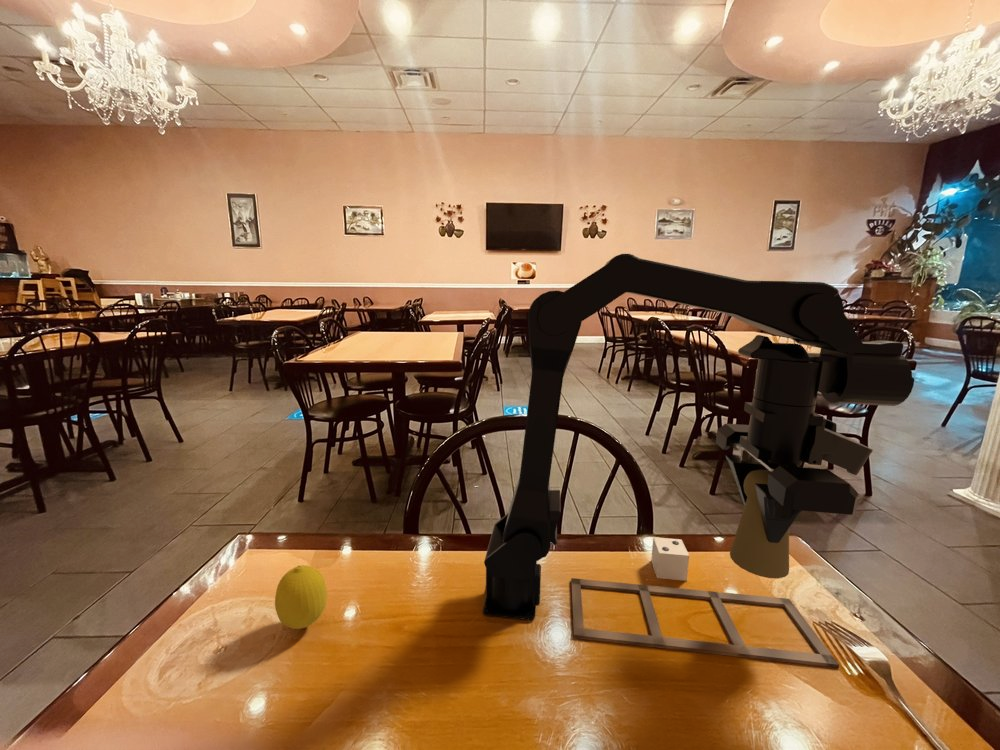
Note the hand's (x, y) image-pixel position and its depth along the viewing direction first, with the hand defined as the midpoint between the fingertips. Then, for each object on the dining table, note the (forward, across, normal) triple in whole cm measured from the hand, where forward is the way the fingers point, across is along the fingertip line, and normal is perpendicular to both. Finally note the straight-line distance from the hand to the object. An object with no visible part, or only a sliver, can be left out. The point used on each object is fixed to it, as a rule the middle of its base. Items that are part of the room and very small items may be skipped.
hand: (763, 530), depth 49 cm
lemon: (+14, -8, +53) cm, 55 cm away
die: (+13, +10, +7) cm, 17 cm away
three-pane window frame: (+13, 0, +7) cm, 15 cm away
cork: (+4, 0, 0) cm, 4 cm away
